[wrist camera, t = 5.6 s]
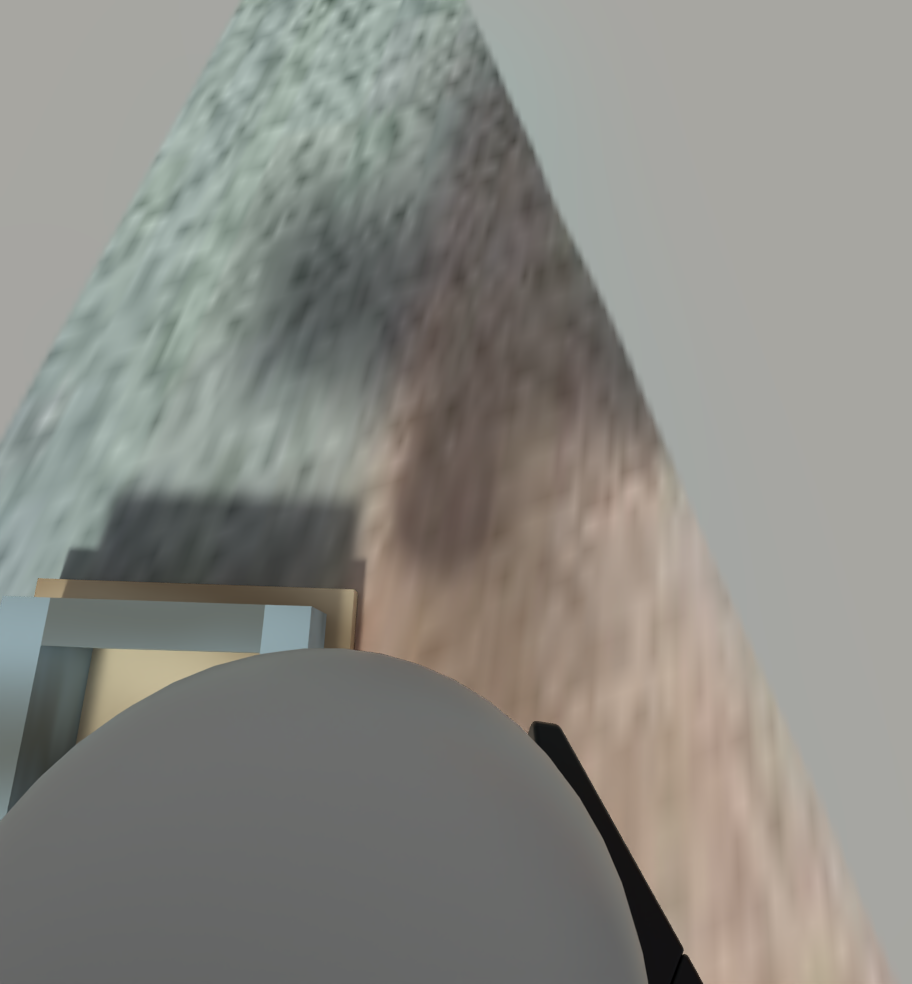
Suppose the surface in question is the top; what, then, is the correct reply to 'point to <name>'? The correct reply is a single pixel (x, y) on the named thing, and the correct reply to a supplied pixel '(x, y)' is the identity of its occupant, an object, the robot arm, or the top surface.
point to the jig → (133, 653)
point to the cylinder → (310, 841)
